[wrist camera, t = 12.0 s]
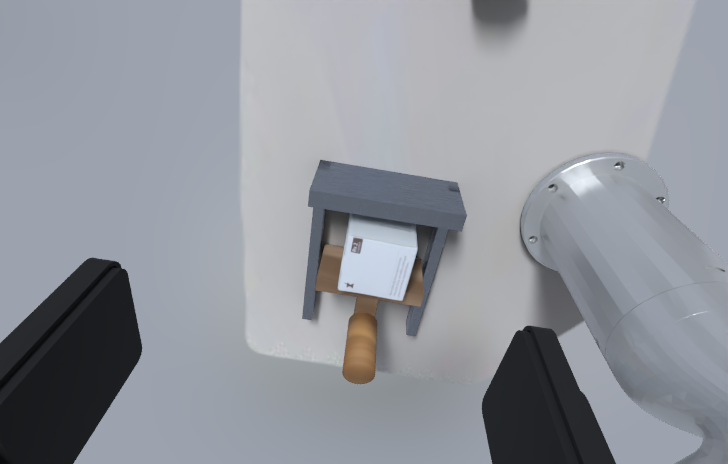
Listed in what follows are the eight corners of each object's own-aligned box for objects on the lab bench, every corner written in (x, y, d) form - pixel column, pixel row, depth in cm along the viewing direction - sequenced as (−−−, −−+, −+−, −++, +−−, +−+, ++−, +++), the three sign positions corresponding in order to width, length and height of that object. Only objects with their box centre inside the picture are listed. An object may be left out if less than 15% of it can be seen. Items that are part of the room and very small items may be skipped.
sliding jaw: (408, 303, 47) (412, 392, 37) (319, 289, 46) (299, 375, 37) (420, 259, 43) (428, 344, 34) (325, 244, 43) (305, 325, 33)
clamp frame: (414, 323, 49) (416, 364, 44) (305, 306, 48) (295, 346, 43) (457, 182, 39) (466, 215, 34) (320, 160, 38) (309, 190, 33)
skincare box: (402, 254, 44) (403, 303, 37) (344, 245, 43) (336, 292, 37) (415, 204, 40) (419, 248, 34) (353, 193, 40) (345, 236, 34)
